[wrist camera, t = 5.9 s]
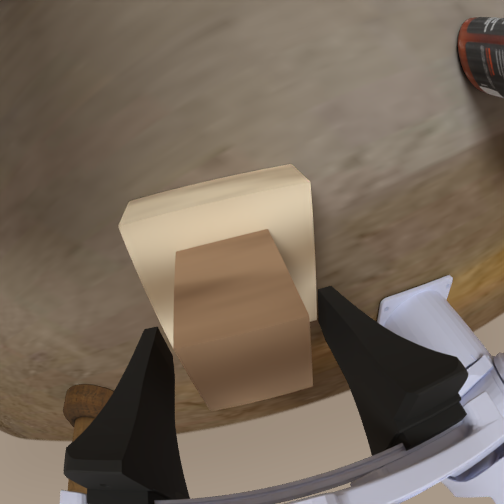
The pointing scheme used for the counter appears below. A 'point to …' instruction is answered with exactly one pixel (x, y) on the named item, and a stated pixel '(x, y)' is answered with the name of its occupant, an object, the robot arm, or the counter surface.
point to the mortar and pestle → (83, 412)
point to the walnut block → (240, 322)
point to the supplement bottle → (483, 53)
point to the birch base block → (221, 229)
